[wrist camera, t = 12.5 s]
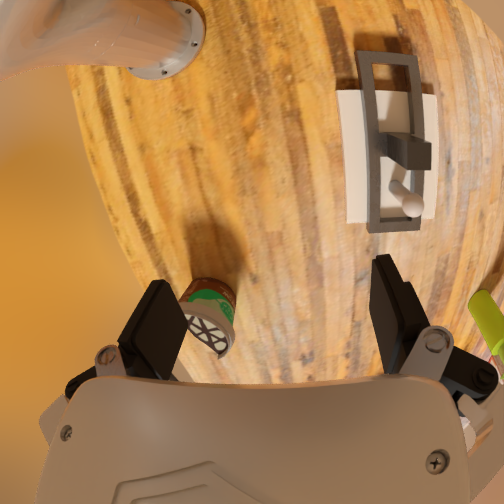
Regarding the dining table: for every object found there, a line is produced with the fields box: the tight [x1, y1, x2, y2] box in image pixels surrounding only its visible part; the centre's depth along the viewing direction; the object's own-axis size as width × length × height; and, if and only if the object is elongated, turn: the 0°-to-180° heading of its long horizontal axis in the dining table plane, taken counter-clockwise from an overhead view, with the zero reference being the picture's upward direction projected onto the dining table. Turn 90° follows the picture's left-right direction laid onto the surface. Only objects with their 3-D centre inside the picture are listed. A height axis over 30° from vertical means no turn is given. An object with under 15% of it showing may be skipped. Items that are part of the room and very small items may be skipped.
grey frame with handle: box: [354, 50, 432, 233], centre depth 26 cm, size 24×8×8 cm, turn 10°
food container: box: [178, 278, 236, 359], centre depth 43 cm, size 12×6×10 cm, turn 38°
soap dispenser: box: [468, 289, 504, 379], centre depth 32 cm, size 6×7×20 cm
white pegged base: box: [335, 90, 439, 224], centre depth 27 cm, size 18×14×9 cm
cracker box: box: [488, 354, 504, 385], centre depth 43 cm, size 14×6×21 cm, turn 21°
